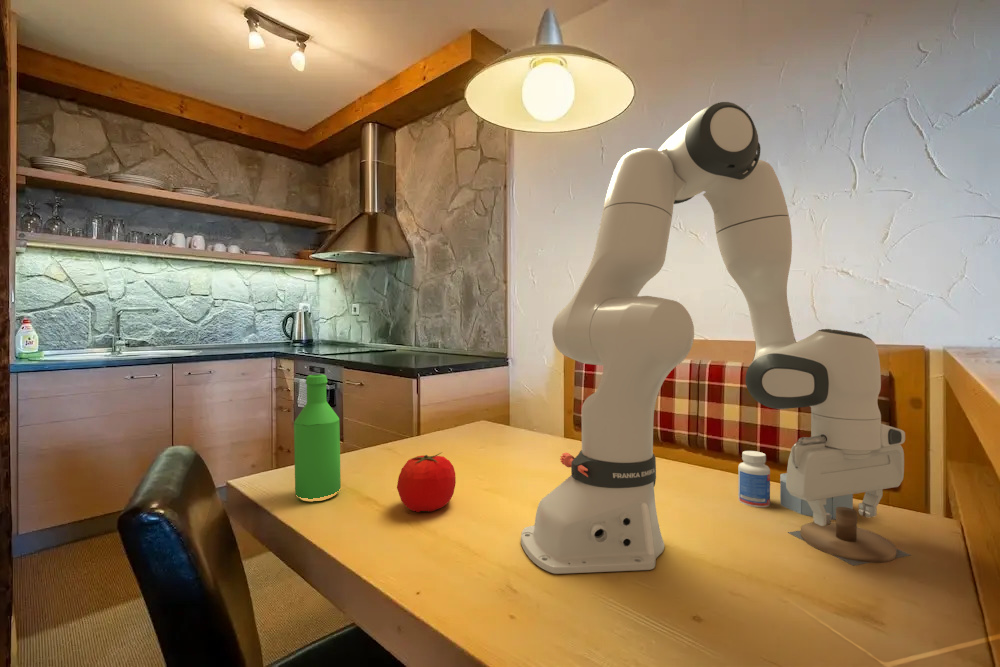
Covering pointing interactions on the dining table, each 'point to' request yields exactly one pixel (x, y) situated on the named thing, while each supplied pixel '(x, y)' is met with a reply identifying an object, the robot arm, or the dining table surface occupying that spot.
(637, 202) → the robot arm
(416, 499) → the tomato
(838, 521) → the lid
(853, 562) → the mat
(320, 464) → the bottle
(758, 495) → the pill bottle
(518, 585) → the dining table surface
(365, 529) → the dining table surface
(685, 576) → the dining table surface
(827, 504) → the bowl
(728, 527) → the dining table surface
